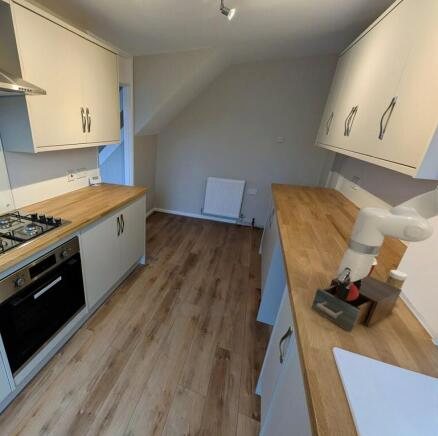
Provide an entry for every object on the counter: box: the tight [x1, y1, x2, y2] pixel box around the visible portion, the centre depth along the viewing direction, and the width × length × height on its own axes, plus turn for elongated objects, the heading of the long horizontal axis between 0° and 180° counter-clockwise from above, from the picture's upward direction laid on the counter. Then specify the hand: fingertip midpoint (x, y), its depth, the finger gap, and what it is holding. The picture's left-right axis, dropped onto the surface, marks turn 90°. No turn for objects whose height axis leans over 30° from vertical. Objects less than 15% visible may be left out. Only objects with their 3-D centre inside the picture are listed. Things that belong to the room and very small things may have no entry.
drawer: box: [311, 284, 374, 333], centre depth 82 cm, size 19×13×8 cm, turn 115°
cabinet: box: [329, 275, 402, 328], centre depth 87 cm, size 16×14×10 cm
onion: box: [336, 282, 359, 301], centre depth 80 cm, size 6×6×8 cm
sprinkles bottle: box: [385, 269, 408, 290], centre depth 90 cm, size 5×5×13 cm
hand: (346, 293), depth 81 cm, fingers closed on onion, 5 cm apart
